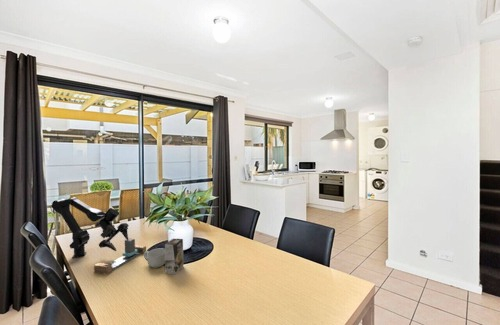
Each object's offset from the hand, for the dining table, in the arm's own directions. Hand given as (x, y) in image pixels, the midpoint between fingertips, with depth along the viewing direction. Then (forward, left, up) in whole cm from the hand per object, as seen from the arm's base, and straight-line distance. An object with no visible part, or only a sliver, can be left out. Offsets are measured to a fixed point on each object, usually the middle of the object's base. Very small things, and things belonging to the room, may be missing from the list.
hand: (121, 245), depth 148 cm
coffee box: (+29, +29, -8) cm, 42 cm away
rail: (+5, +1, -8) cm, 10 cm away
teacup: (+18, +19, -8) cm, 27 cm away
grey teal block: (0, +4, -6) cm, 8 cm away
